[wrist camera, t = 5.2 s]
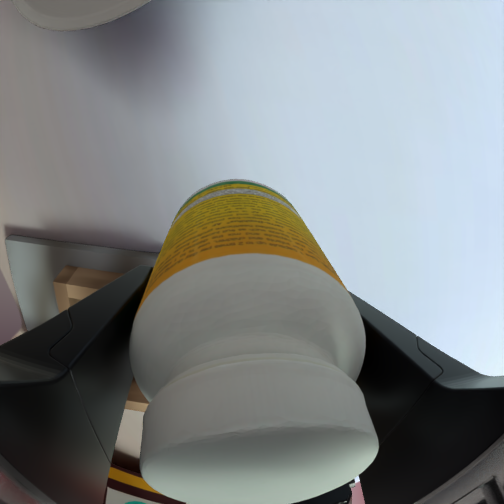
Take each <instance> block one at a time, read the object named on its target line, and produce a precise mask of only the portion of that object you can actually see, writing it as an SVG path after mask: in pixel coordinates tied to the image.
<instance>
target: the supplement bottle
mask: <svg viewBox="0 0 504 504" xmlns="http://www.w3.org/2000/svg"><path fill="white" fill-rule="evenodd" d="M365 348H366V337H365V330H364V325H363V321H362V318H361V316H360V313H359V310H358V308H357V307H356V305H355V303H354V301H353V299H352V297H351V295H350V294H349V292H348V291H347V289H346V287H345V286H344V284H343V283H342V281H341V280H340V278H339V276H338V275H337V273H336V272H335V270H334V269H333V267H332V265H331V264H330V262H329V261H328V259H327V258H326V256H325V254H324V253H323V251H322V250H321V248H320V247H319V245H318V243H317V242H316V240H315V239H314V237H313V235H312V234H311V232H310V231H309V229H308V228H307V226H306V225H305V223H304V222H303V220H302V219H301V217H300V215H299V214H298V212H297V211H296V210H295V208H294V207H293V206H292V204H291V203H290V202H289V201H288V200H287V199H286V198H285V197H284V196H283V195H281V194H280V193H278V192H277V191H275V190H274V189H272V188H270V187H268V186H266V185H264V184H261V183H258V182H254V181H250V180H244V179H230V180H223V181H219V182H215V183H212V184H210V185H208V186H206V187H204V188H202V189H200V190H198V191H197V192H195V193H194V194H193V195H192V196H191V197H189V198H188V199H187V201H186V202H185V203H184V204H183V205H182V207H181V208H180V210H179V211H178V213H177V215H176V217H175V219H174V221H173V223H172V225H171V228H170V230H169V232H168V235H167V237H166V239H165V241H164V244H163V247H162V249H161V251H160V253H159V256H158V258H157V260H156V263H155V266H154V268H153V271H152V273H151V276H150V279H149V281H148V284H147V287H146V289H145V292H144V295H143V298H142V300H141V303H140V305H139V308H138V310H137V312H136V315H135V318H134V321H133V326H132V331H131V335H130V344H129V356H130V363H131V368H132V372H133V375H134V378H135V380H136V383H137V385H138V387H139V388H140V390H141V392H142V393H143V395H144V396H145V398H146V399H147V400H148V401H149V405H148V406H147V408H146V411H145V413H144V416H143V432H142V442H141V452H140V471H141V475H142V477H143V479H144V480H145V481H146V482H147V484H148V485H149V486H151V487H152V488H153V489H154V490H156V491H158V492H159V493H161V494H163V495H165V496H167V497H170V498H173V499H175V500H178V501H182V502H185V503H189V504H291V503H296V502H300V501H303V500H307V499H310V498H313V497H316V496H319V495H321V494H324V493H326V492H329V491H331V490H333V489H336V488H338V487H340V486H342V485H344V484H346V483H347V482H349V481H351V480H353V479H354V478H356V477H357V476H358V475H359V474H361V473H362V472H363V471H364V470H365V469H366V468H367V467H368V466H369V465H370V464H371V463H372V462H373V460H374V459H375V457H376V455H377V453H378V449H379V443H378V437H377V434H376V432H375V429H374V426H373V423H372V420H371V418H370V415H369V412H368V410H367V407H366V404H365V399H364V395H363V393H362V391H361V390H360V388H359V386H358V385H357V384H356V383H355V382H356V380H357V378H358V376H359V374H360V371H361V368H362V365H363V361H364V357H365Z"/></svg>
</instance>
